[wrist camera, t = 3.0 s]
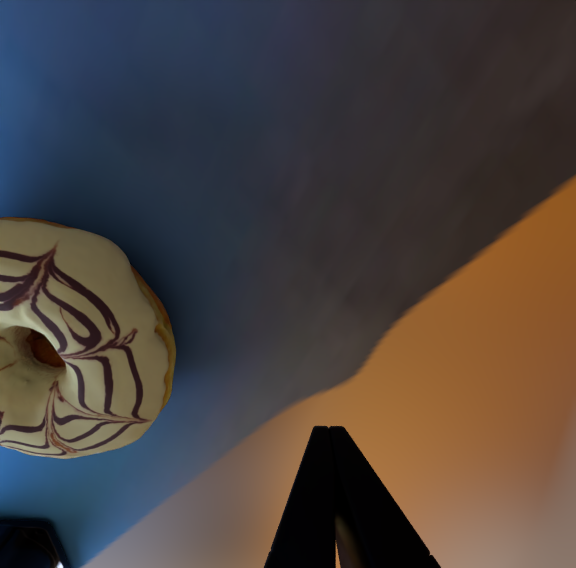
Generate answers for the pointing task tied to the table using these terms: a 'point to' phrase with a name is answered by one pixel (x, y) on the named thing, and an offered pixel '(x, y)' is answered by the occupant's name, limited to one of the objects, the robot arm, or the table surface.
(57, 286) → the decorated donut
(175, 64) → the table surface
